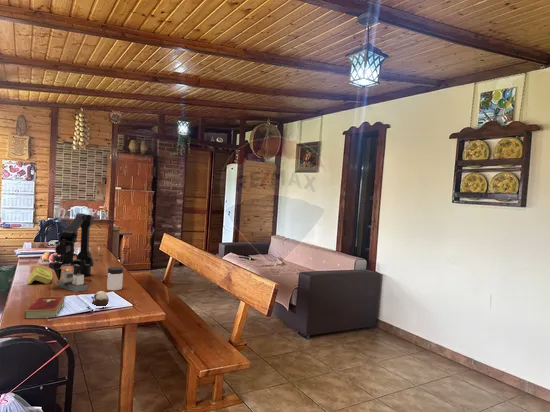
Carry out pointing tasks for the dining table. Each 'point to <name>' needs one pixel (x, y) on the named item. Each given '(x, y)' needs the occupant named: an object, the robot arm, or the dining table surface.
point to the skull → (100, 299)
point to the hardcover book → (44, 307)
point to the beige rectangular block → (66, 276)
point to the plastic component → (40, 275)
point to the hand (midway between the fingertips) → (66, 278)
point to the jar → (115, 278)
